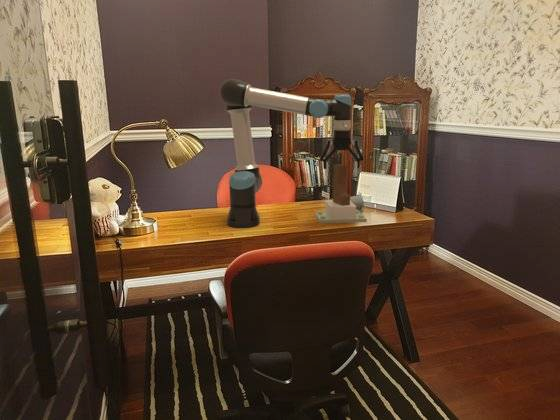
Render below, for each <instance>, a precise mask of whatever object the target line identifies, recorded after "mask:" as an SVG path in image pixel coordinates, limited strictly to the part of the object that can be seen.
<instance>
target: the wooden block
mask: <svg viewBox="0 0 560 420" xmlns="http://www.w3.org/2000/svg"><path fill="white" fill-rule="evenodd" d="M332 178H333V181H332V183H333V184H332V200H333V202H335V203H337V204H340V205H350V197H351V195H350V194H349V193H348V192H347V188H346V187H347V186H346V185H347V165H346V164H342V163H339V164H336V163H335V164H333V177H332Z"/></svg>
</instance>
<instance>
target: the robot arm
mask: <svg viewBox="0 0 560 420" xmlns="http://www.w3.org/2000/svg"><path fill="white" fill-rule="evenodd" d="M218 90H219V92H218V93H219V98H220V100H221V101H222V102H223V103H224V104H225V108H226V112H227V113H229V114H230V121H231V126H232V134H233V142H234V150H235V151H234V152H235V157H236V164H237V165H236V167H235V168H234V172H233V173H231V174H230V175H229V178H228V186H229V188H228V189H229V211H228V213H227V214H228V215H227V218H226V225H227V226H229V227H232V228H237V229H241V228H242V229H245V228H252V227H257V226H258V225H260V223H261V222H260V221H261V220H260V216H259V213H258V210H257V205H256V202H257V201H256V195H257V193H258V192H259V191H260V190H261V188H262V184H263V176H262V175H261V173H260V166H259V165H258V164H257V163H256V160H255V152H254V150H255V149H254V144H253V143H254V142H253V135H252V129H251V127H252V126H251V120H250V119H251V118H250V111H251V110H252V107H253V106H254V107H257V108H265V109H269V110H273V111H282V112H286V113H292V114H298V115H303V116H307V117H313V118H316V119H322V118H324V117H333V118H334V121H333V129H334V130H333V140H326V145H325V147H324V149H323V150H322V153H321V155H320V157H319V161H320V162H322V163H323V164H322V167H323V170H325V173H324V174H325V175H324V176H325V177H326V178H327V177H329V162H328V161H329V160H330V158H331V157H332V156H333V154H334V153H335V152H337V151H346V150H347V151H348V152H349V154H350V155H351V156H352V157H353V159H354V166H353V176H355V177H357V176H358V169H360V162H361V161H364V159H365V158H364V156H363V154H362V151H361V150H360V147H359V145H358V140H357V139H354V140H351V129H352V126H351V123H352V96H351V95H350V94H335V95H334V98H333V99H328V98H327V99H323V98H322V99H321V98H315V97H314V98H313V97H308V96H302V95H297V94H292V93H285V92H280V91H273V90H269V89H265V88H257V87H253V86H252V85H251V84H249V83H247V82H246V81H244V80H242V79H235V78H230V79H229V78H228V79H226V80H225V81H223V82H222V83H221V84H220V86H219V89H218ZM351 144H352V146H354V148H355V149H354V150H355V151H356V153H357V155H356V153H355V151H353V149H352V148H351V147H350V146H351ZM332 145H333V147H332V149H331V150H330V151H329V149H330V147H331V146H332ZM328 151H329V152H328ZM327 152H328V154H327Z"/></svg>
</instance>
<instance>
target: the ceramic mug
mask: <svg viewBox="0 0 560 420" xmlns="http://www.w3.org/2000/svg"><path fill="white" fill-rule="evenodd" d="M350 201H351V202H352V203H353V204H354V205H355V206H356V210H359V212H360V213H361V214H362V212H363V209H364V206H365V204H364V203H365V202H364V198H363V196H362V195H360V194H358V195H353V196H350Z"/></svg>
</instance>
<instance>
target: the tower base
mask: <svg viewBox="0 0 560 420" xmlns="http://www.w3.org/2000/svg"><path fill="white" fill-rule="evenodd" d="M324 204H325V207H324V208H325V210H324V212H323V210H317V212H314V216H315V218H316V219H317V222H318V224H340V223H343V224H344V223H367V222H368V221H367V220H368V219H367V218H366V216H365V215H364V214H362V212H361V213H360V212H359V211H360V210H356V206H355V205H354V204H353V203H352V202H351V201H350V205H340V204H337V203H335V202H333V199H331V200H330V199H329V200H328V199H327V200H325V203H324Z"/></svg>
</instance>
